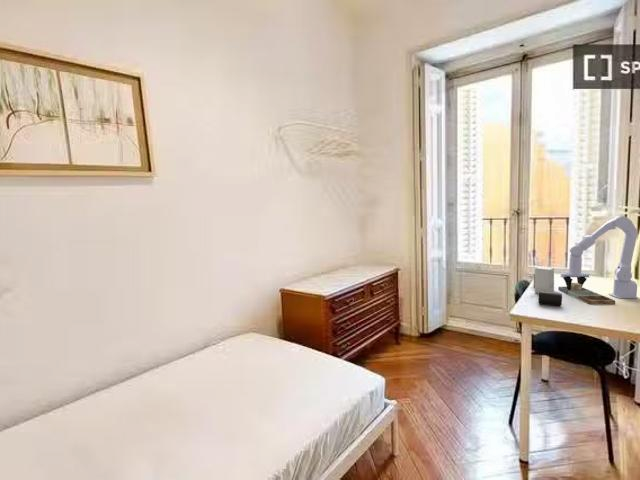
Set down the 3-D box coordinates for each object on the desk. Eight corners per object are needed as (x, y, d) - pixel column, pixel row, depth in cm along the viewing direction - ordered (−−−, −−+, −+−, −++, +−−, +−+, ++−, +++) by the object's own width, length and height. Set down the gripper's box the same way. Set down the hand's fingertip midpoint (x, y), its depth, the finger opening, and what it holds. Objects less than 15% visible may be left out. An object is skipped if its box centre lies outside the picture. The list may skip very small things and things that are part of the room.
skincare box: (554, 293, 208) (555, 268, 206) (548, 295, 205) (550, 269, 203) (538, 291, 215) (539, 266, 213) (533, 292, 212) (534, 267, 210)
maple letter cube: (575, 291, 213) (576, 282, 213) (581, 293, 208) (581, 284, 208) (566, 291, 214) (567, 282, 213) (571, 293, 209) (572, 284, 208)
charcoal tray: (580, 289, 215) (580, 286, 215) (590, 294, 206) (590, 290, 206) (558, 289, 216) (558, 286, 216) (567, 294, 207) (567, 290, 207)
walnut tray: (602, 299, 196) (603, 295, 195) (615, 304, 187) (615, 300, 186) (578, 299, 197) (578, 295, 196) (589, 304, 188) (589, 300, 187)
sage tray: (590, 294, 205) (591, 290, 205) (602, 298, 196) (602, 295, 196) (568, 294, 206) (568, 290, 206) (578, 298, 197) (578, 295, 197)
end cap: (538, 305, 188) (538, 292, 187) (538, 301, 194) (538, 289, 193) (561, 308, 183) (562, 294, 182) (560, 304, 189) (561, 291, 189)
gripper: (566, 267, 206) (564, 291, 208) (593, 267, 205) (591, 291, 206) (559, 265, 213) (557, 288, 214) (585, 265, 212) (584, 288, 213)
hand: (574, 289), depth 211 cm, fingers open, 5 cm apart
